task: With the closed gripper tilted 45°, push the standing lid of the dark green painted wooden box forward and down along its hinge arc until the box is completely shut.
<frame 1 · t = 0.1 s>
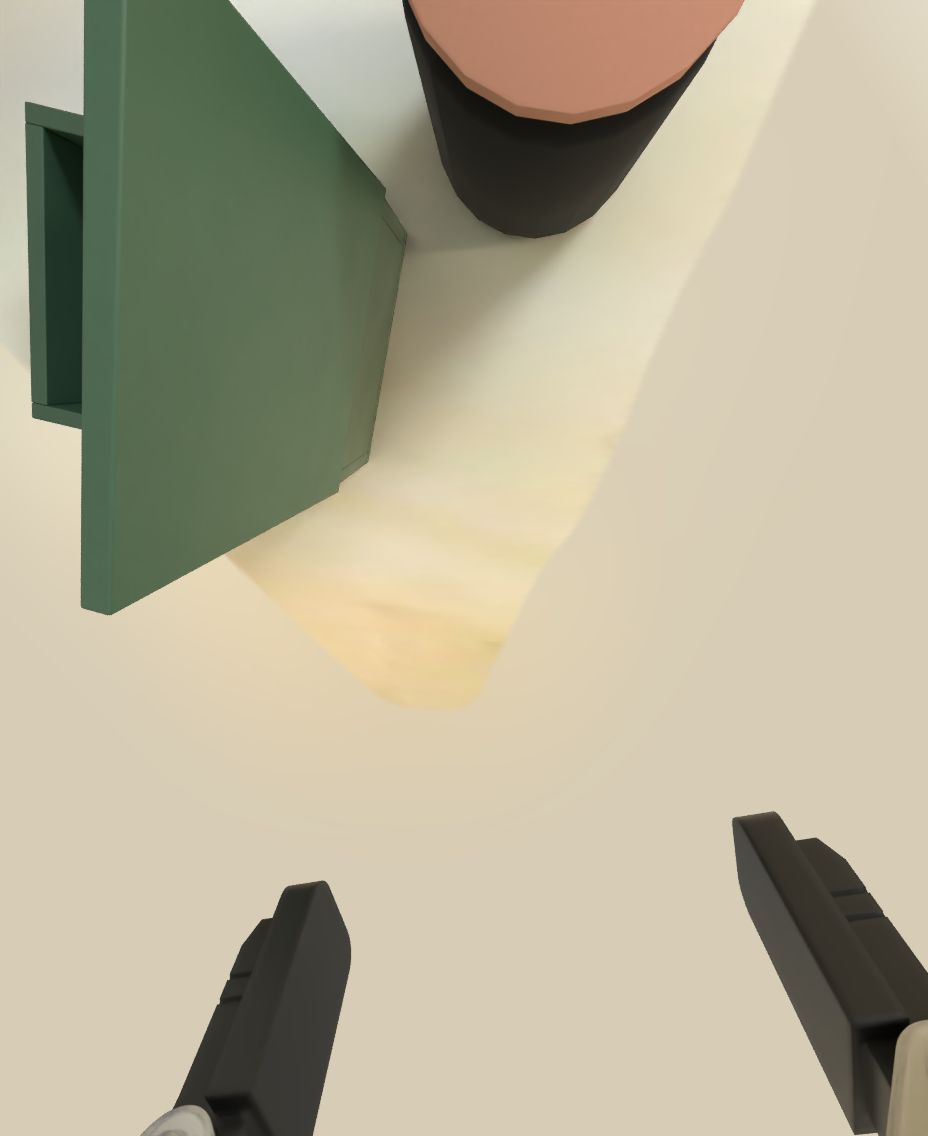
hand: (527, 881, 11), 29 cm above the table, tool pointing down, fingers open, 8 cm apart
green box: (262, 324, 36), on the table
coffee jar: (535, 134, 32), on the table
green lid: (276, 339, 19), point 17 cm above the table, hinge at 85.0°
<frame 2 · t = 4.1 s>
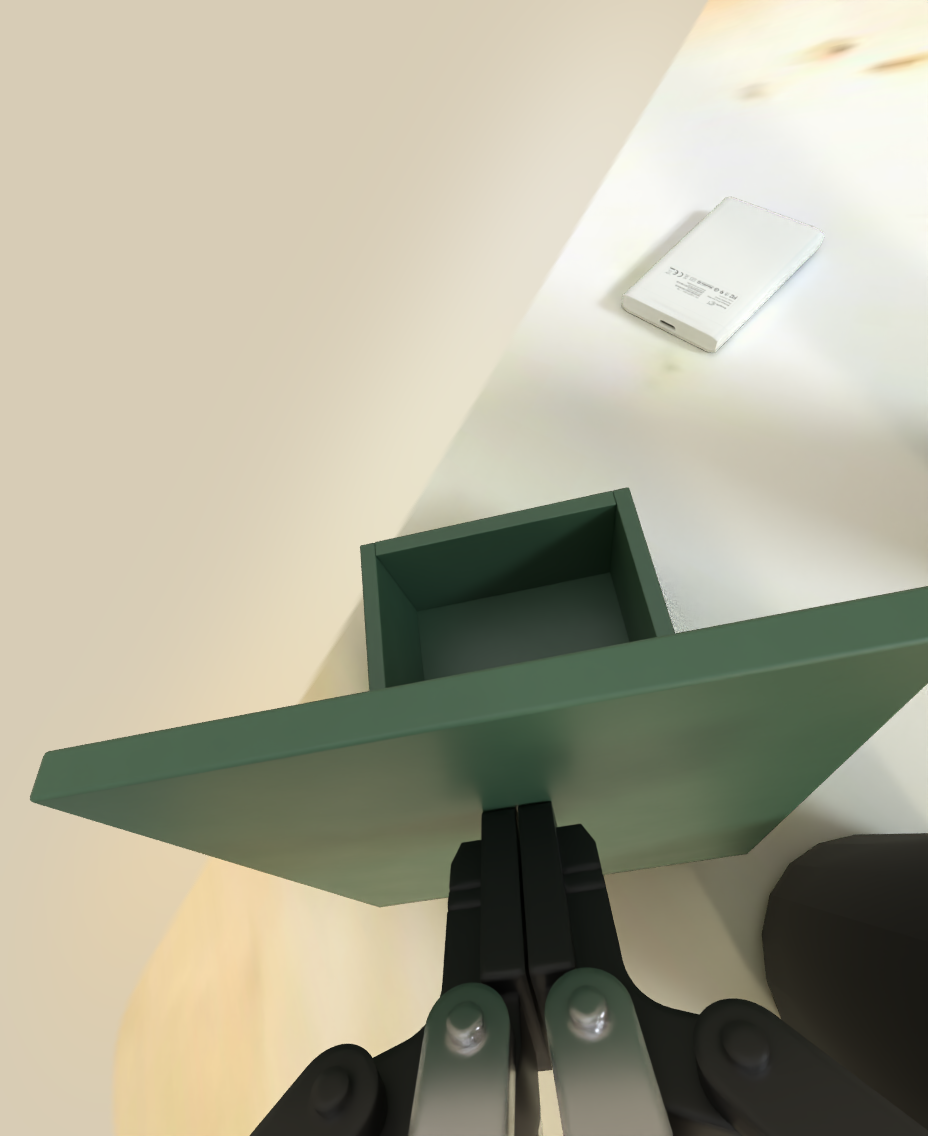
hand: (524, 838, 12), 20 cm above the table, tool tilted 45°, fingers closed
hard drive: (717, 282, 44), on the table
green box: (534, 709, 33), on the table
coffee jar: (884, 967, 26), on the table
green lid: (528, 821, 15), point 17 cm above the table, hinge at 79.8°, touching gripper
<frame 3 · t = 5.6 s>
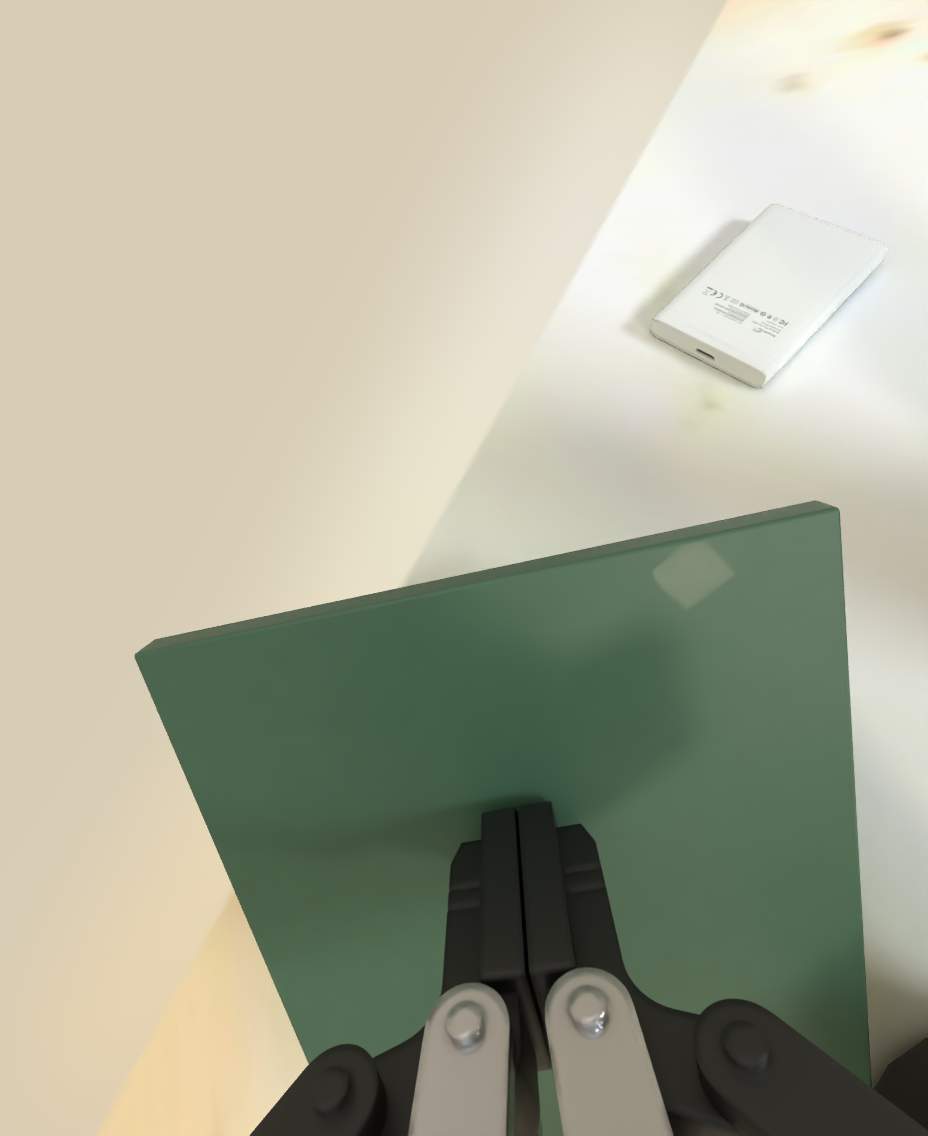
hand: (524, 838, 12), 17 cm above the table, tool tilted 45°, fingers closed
hard drive: (761, 303, 38), on the table
green lid: (543, 908, 13), point 15 cm above the table, hinge at 41.9°, touching gripper
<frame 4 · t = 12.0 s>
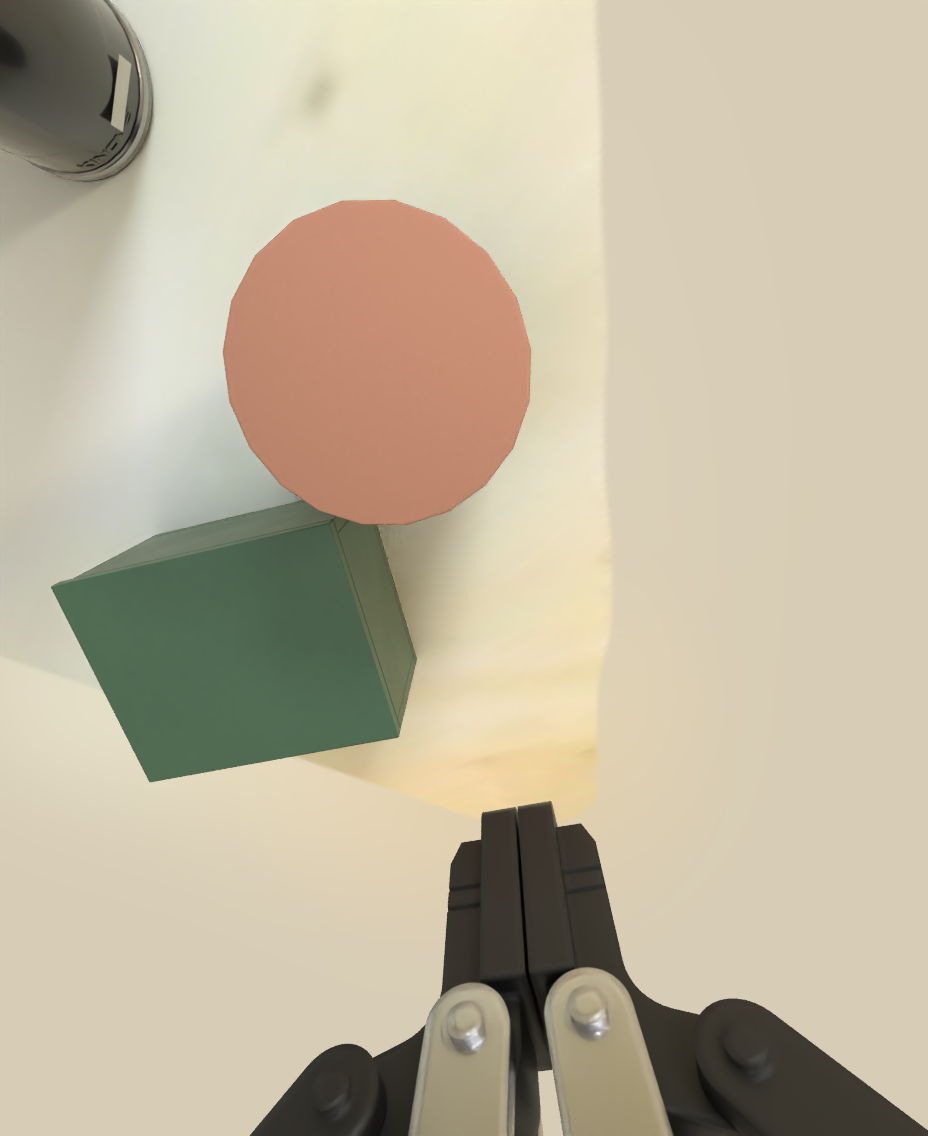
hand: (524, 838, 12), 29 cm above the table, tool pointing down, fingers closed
green box: (290, 599, 42), on the table
coffee jar: (427, 369, 37), on the table
green lid: (233, 661, 34), point 9 cm above the table, hinge at -0.2°, touching green box
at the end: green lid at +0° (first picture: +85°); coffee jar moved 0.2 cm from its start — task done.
